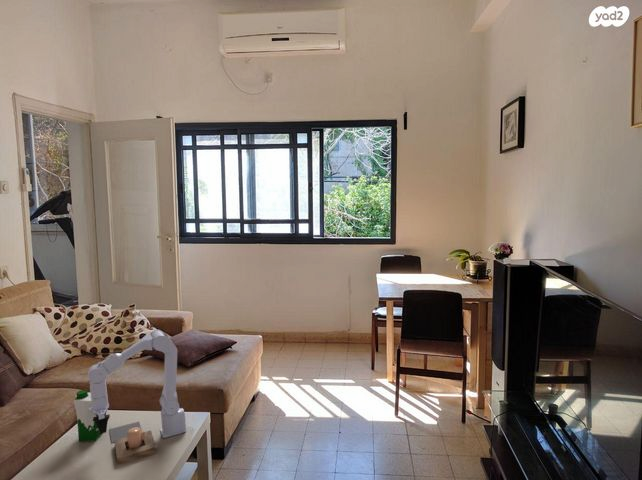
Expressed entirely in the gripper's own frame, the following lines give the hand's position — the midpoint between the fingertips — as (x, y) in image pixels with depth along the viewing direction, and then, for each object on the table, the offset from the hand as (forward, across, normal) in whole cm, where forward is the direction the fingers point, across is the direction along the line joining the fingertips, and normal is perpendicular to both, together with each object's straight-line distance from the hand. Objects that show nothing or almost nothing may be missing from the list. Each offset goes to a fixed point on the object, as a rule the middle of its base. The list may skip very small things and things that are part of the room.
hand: (102, 428), depth 178 cm
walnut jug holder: (+10, +5, +11) cm, 15 cm away
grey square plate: (+10, -11, +9) cm, 17 cm away
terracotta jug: (+10, +5, +11) cm, 15 cm away
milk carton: (+10, -15, -4) cm, 18 cm away
